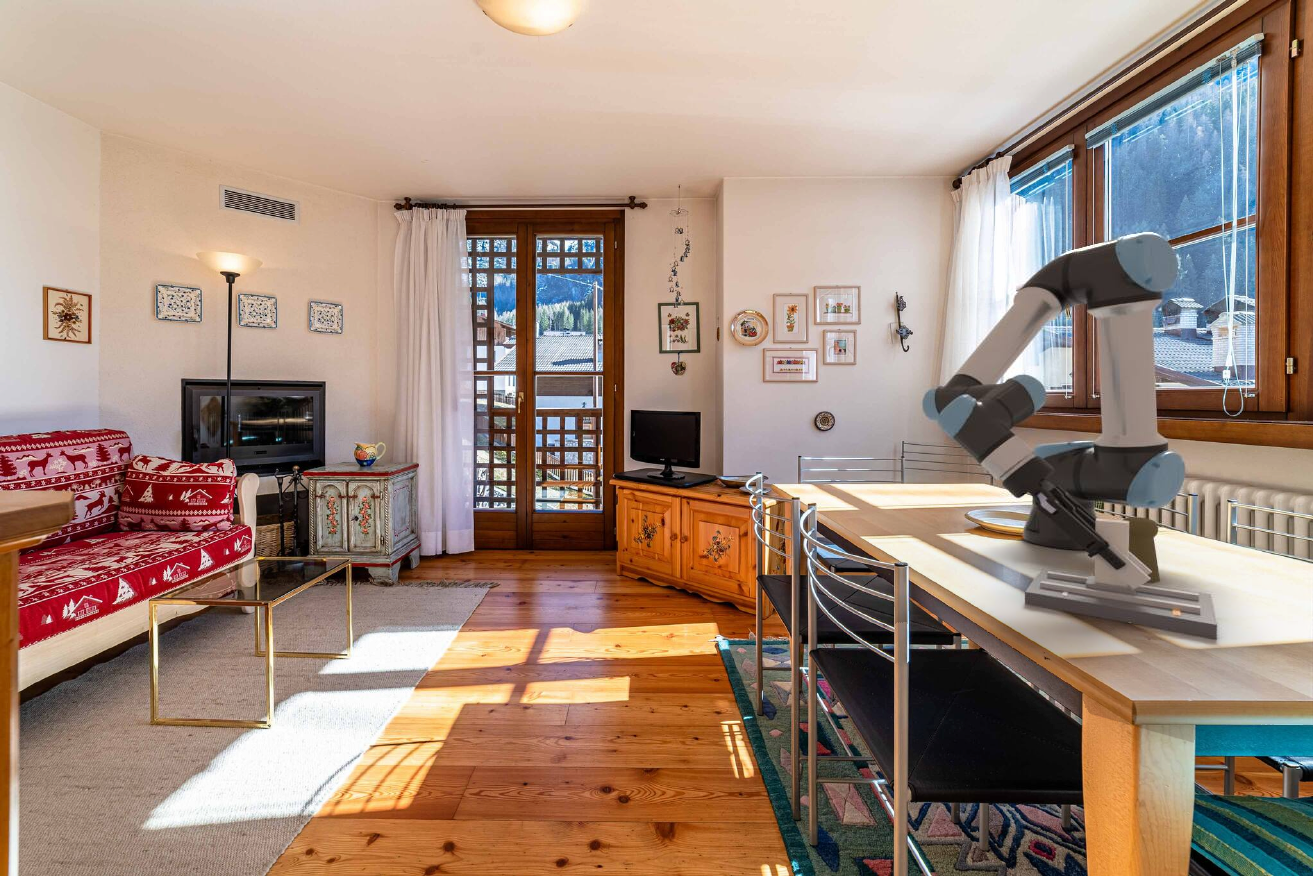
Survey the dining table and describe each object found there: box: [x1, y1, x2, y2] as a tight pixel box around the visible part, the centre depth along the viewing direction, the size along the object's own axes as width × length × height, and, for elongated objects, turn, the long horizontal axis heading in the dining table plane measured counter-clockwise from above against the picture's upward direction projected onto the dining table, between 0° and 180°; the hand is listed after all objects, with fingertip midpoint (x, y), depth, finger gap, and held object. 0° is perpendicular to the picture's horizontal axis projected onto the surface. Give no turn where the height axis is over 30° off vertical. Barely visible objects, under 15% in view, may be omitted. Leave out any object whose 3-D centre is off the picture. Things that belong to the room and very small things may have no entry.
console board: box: [1024, 568, 1218, 640], centre depth 89 cm, size 16×22×3 cm
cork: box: [1122, 516, 1161, 584], centre depth 102 cm, size 6×6×11 cm
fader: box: [1086, 517, 1136, 596], centre depth 89 cm, size 5×6×11 cm
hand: (1142, 580), depth 87 cm, fingers closed on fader, 4 cm apart
